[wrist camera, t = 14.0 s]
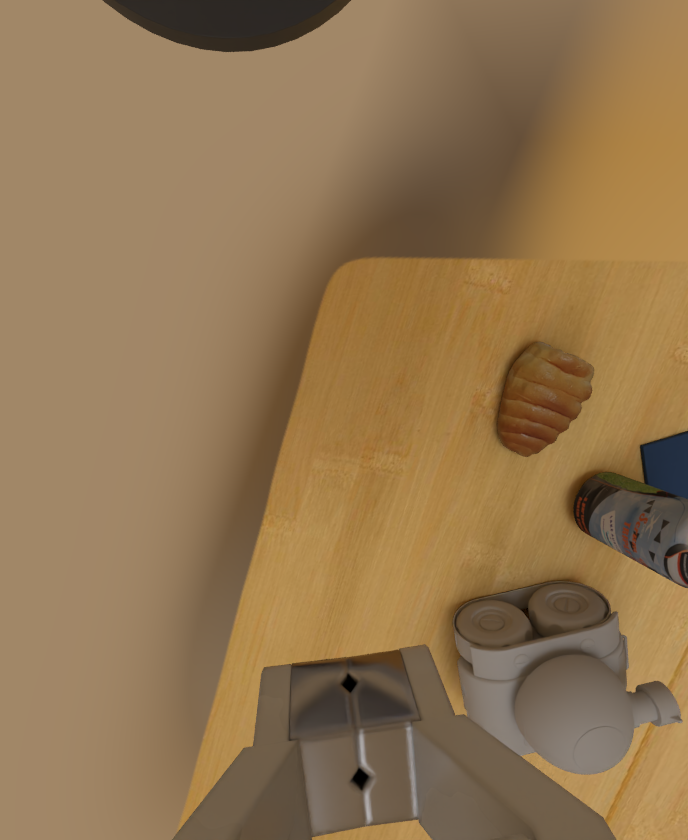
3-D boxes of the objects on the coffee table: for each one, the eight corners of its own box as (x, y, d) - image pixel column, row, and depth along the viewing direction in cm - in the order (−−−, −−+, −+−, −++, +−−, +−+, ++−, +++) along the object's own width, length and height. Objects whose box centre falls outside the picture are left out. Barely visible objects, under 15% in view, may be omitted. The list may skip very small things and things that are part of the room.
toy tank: (589, 569, 45) (703, 668, 32) (597, 662, 47) (706, 788, 34) (438, 604, 44) (493, 719, 31) (453, 697, 46) (510, 838, 34)
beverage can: (557, 481, 42) (655, 542, 31) (632, 454, 43) (758, 504, 31) (572, 540, 44) (671, 620, 32) (644, 514, 44) (769, 584, 32)
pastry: (541, 461, 42) (564, 474, 38) (474, 435, 41) (491, 446, 37) (588, 363, 40) (617, 367, 37) (521, 334, 39) (543, 335, 36)
